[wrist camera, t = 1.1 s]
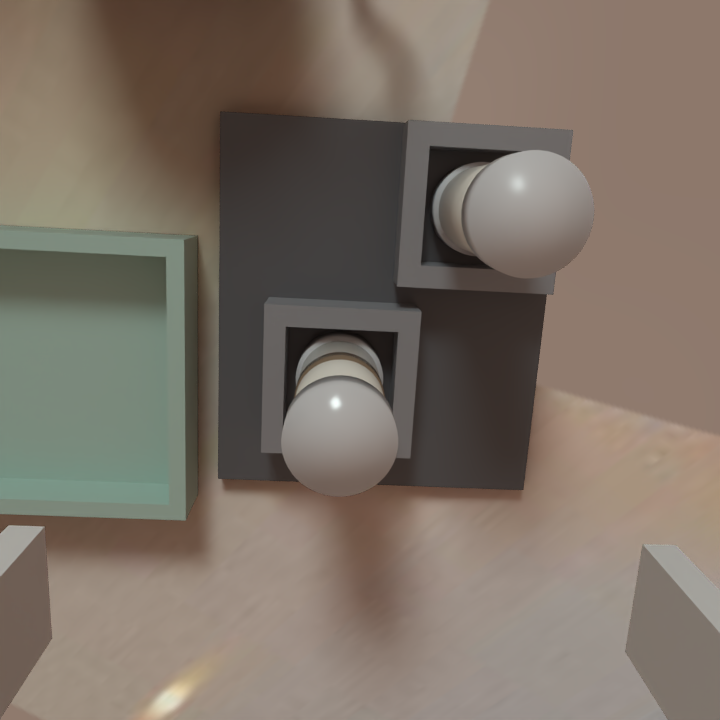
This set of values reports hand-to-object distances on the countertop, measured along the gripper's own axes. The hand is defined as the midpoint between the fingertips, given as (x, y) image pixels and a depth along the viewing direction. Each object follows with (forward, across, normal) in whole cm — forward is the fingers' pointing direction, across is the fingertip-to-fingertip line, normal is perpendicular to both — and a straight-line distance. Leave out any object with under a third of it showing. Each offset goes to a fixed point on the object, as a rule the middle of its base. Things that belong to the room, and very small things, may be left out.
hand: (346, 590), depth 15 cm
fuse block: (+20, +2, +3) cm, 21 cm away
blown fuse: (+20, 0, 0) cm, 20 cm away
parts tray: (+20, -14, -1) cm, 25 cm away
